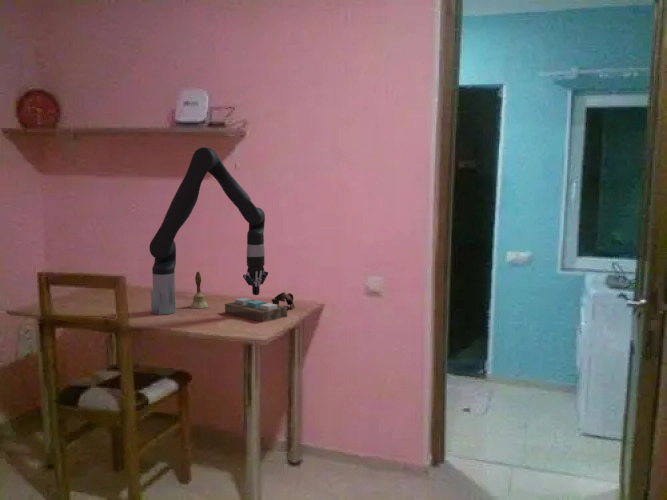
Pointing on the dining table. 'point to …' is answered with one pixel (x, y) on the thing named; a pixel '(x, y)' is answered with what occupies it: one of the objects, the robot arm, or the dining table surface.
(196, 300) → the hand bell
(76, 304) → the dining table surface
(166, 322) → the dining table surface
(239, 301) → the grey key
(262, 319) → the console
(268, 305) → the cream key
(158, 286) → the robot arm
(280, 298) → the pottery mug
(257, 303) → the teal key
